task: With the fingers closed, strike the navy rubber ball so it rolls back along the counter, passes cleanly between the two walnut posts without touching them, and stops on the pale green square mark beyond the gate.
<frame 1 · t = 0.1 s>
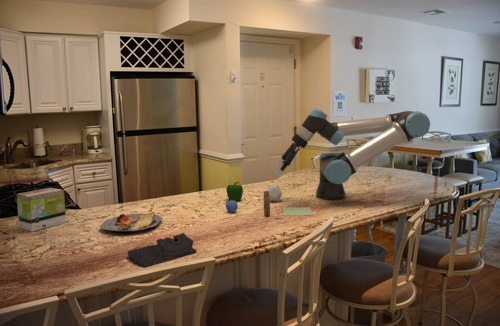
hand: (276, 172, 196), 15 cm above the counter, tool tilted 35°, fingers open, 13 cm apart
die: (273, 201, 204), on the counter
ball: (231, 206, 184), on the counter
stepped dark grey slab: (162, 255, 137), on the counter
bell pepper: (234, 201, 206), on the counter
tea box: (43, 226, 169), on the counter
gate post 1: (266, 208, 191), on the counter
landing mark: (297, 211, 184), on the counter
food plate: (132, 226, 167), on the counter
gate post 2: (267, 215, 178), on the counter
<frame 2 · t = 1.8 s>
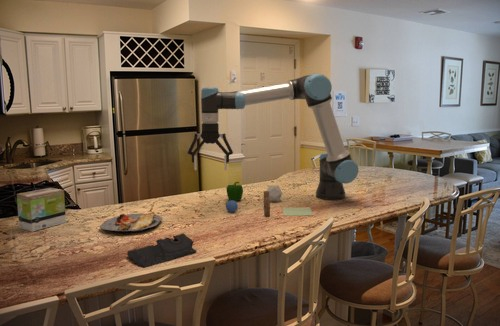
hand: (210, 169, 182), 20 cm above the counter, tool pointing down, fingers open, 13 cm apart
nothing on the counter moved.
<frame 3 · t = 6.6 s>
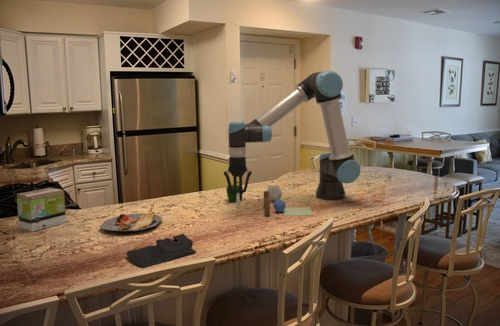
hand: (238, 207, 184), 2 cm above the counter, tool pointing down, fingers closed
ball: (279, 206, 184), on the counter
everything else where it was.
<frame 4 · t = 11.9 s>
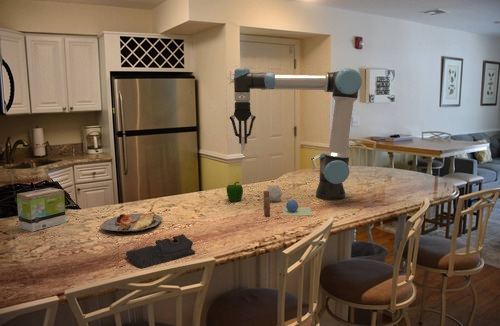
hand: (243, 150, 196), 26 cm above the counter, tool pointing down, fingers closed
ball: (292, 206, 184), on the counter
everything else where it was.
at the end: ball 2.4 cm from the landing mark (horizontally); ball never touched gate post 2; ball never touched gate post 1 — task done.
